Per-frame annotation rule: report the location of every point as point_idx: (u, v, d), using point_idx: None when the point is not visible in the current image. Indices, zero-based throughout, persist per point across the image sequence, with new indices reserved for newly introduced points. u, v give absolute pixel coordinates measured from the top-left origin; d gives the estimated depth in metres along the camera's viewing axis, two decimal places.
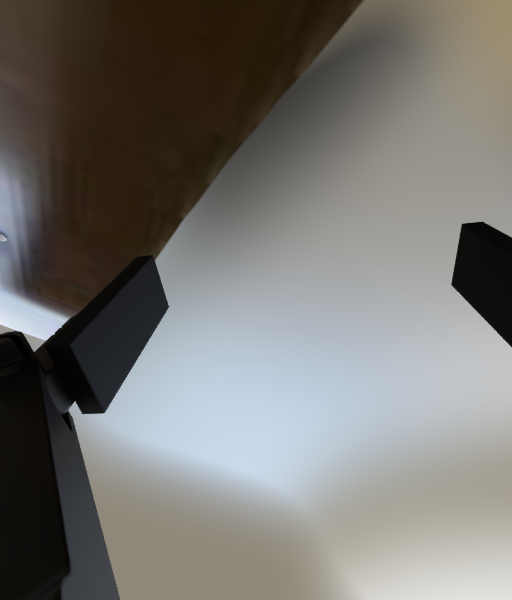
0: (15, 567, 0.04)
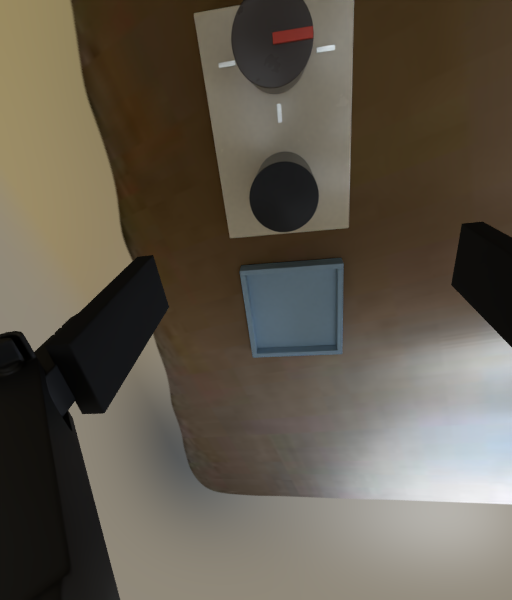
0: (15, 567, 0.04)
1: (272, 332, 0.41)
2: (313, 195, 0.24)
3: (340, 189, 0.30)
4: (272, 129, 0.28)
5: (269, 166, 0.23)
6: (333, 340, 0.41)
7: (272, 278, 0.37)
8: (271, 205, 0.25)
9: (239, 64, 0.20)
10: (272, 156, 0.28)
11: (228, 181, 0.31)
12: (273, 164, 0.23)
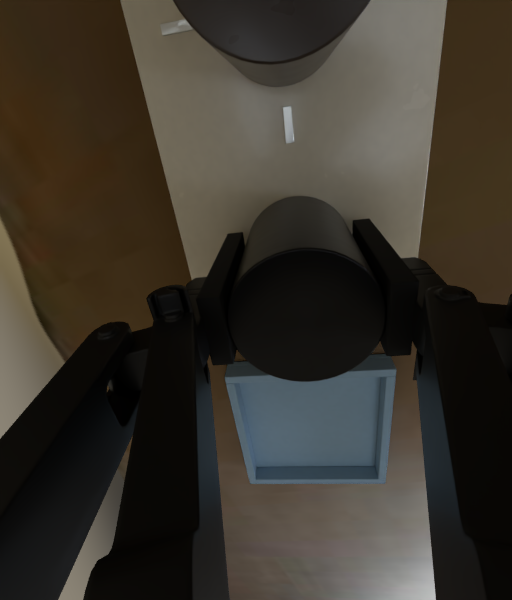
0: (157, 499, 0.05)
1: (279, 448, 0.27)
2: (373, 318, 0.10)
3: None
4: (275, 156, 0.15)
5: (271, 258, 0.10)
6: (371, 460, 0.27)
7: (277, 381, 0.24)
8: (277, 335, 0.11)
9: None
10: (276, 209, 0.14)
11: (197, 247, 0.17)
12: (281, 254, 0.10)
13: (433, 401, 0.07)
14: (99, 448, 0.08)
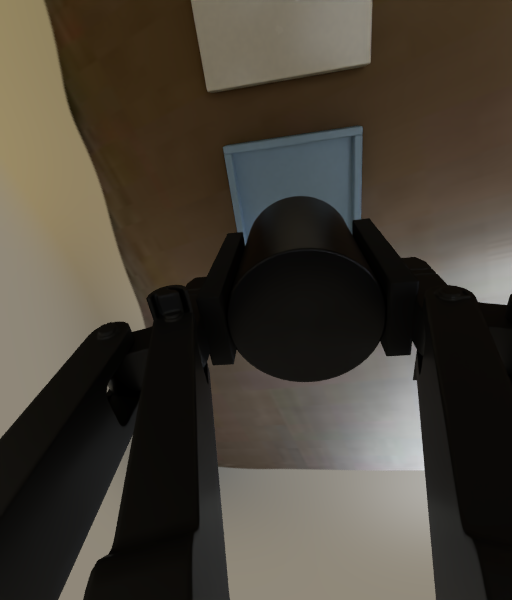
0: (157, 499, 0.05)
1: None
2: (373, 318, 0.10)
3: None
4: None
5: (270, 258, 0.10)
6: None
7: (267, 161, 0.28)
8: (277, 335, 0.11)
9: None
10: (276, 209, 0.14)
11: None
12: (281, 254, 0.10)
13: (433, 401, 0.07)
14: (99, 448, 0.08)
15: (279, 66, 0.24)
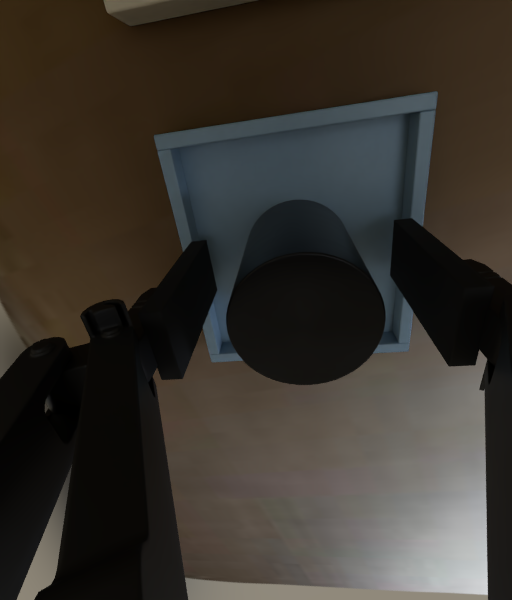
0: (103, 518, 0.05)
1: None
2: (372, 321, 0.10)
3: None
4: None
5: (270, 263, 0.10)
6: (387, 321, 0.18)
7: (243, 165, 0.15)
8: (277, 338, 0.11)
9: None
10: (275, 213, 0.14)
11: None
12: (281, 258, 0.10)
13: (504, 412, 0.06)
14: (41, 467, 0.07)
15: None
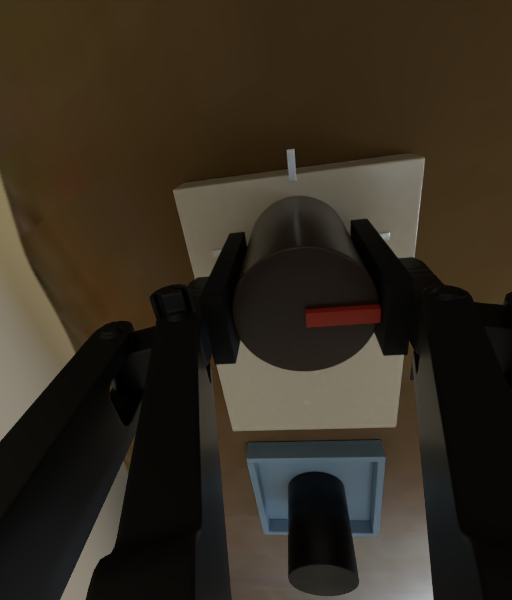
0: (159, 498, 0.05)
1: None
2: (353, 582, 0.24)
3: (386, 389, 0.22)
4: None
5: (310, 565, 0.23)
6: (366, 516, 0.32)
7: None
8: (311, 583, 0.25)
9: (246, 342, 0.12)
10: (306, 490, 0.28)
11: (229, 376, 0.22)
12: (314, 565, 0.23)
13: (430, 401, 0.07)
14: (102, 447, 0.08)
15: (305, 423, 0.24)
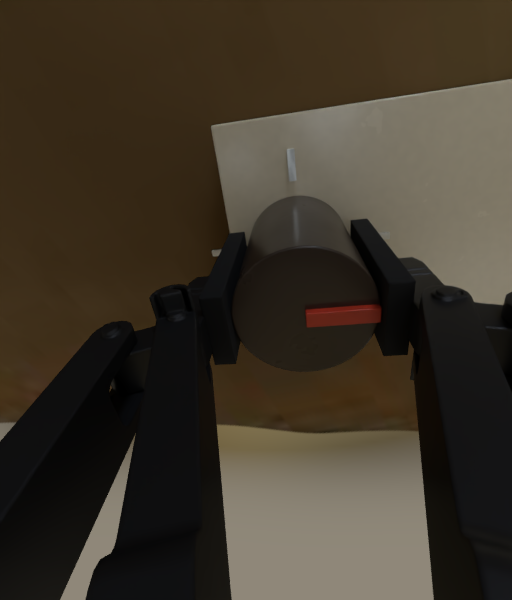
0: (159, 498, 0.05)
1: None
2: None
3: None
4: (397, 247, 0.17)
5: None
6: None
7: None
8: None
9: (246, 342, 0.12)
10: None
11: None
12: None
13: (430, 401, 0.07)
14: (102, 447, 0.08)
15: None
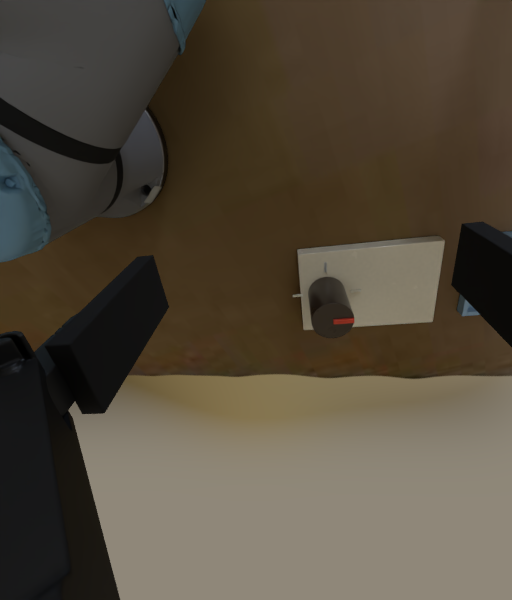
0: (15, 567, 0.04)
1: None
2: None
3: (411, 250, 0.41)
4: (364, 294, 0.44)
5: None
6: None
7: None
8: None
9: (314, 329, 0.39)
10: None
11: (391, 320, 0.46)
12: None
13: None
14: None
15: (432, 287, 0.43)
